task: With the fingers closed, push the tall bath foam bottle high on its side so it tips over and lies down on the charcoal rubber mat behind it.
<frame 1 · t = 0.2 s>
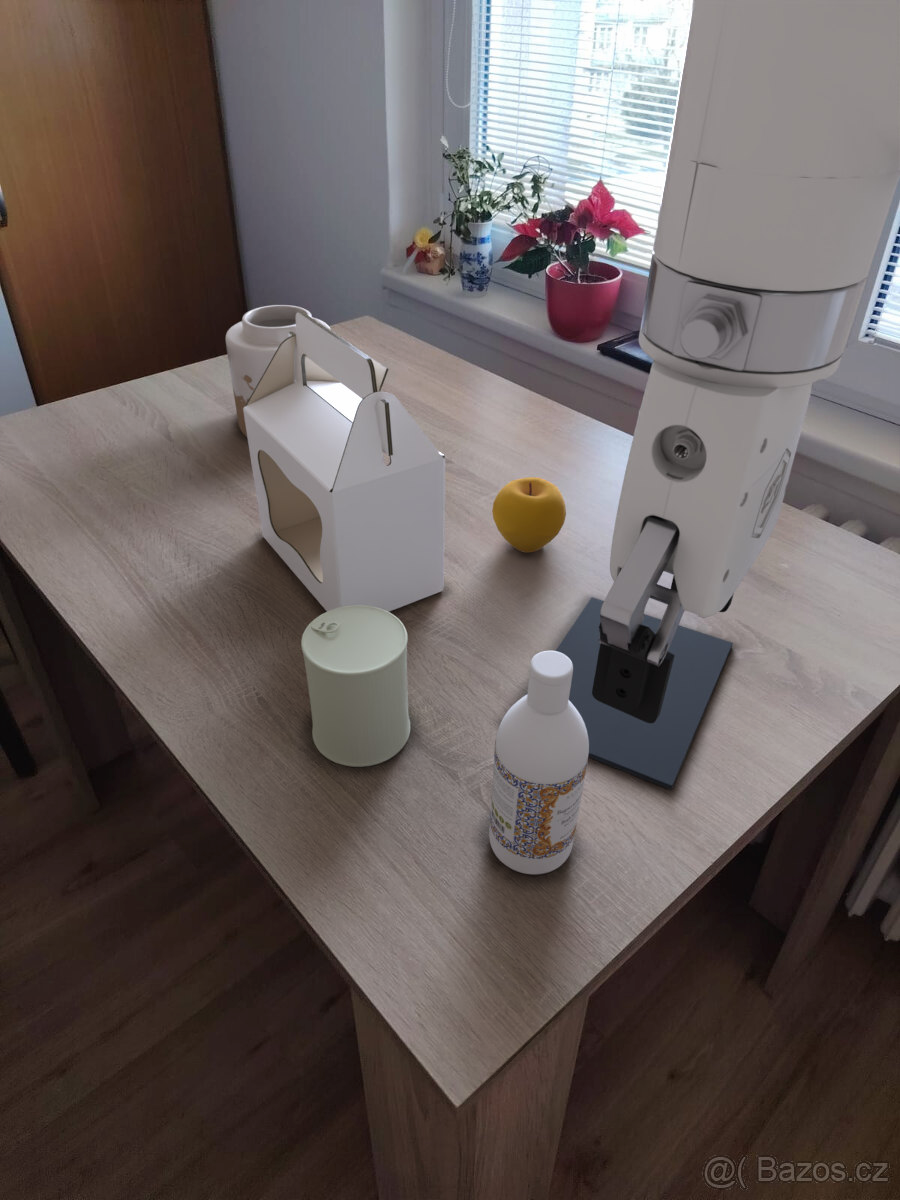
hand: (664, 650, 42), 30 cm above the table, tool pointing down, fingers open, 9 cm apart
apple: (526, 546, 103), on the table
vase: (289, 424, 128), on the table
gable box: (349, 564, 99), on the table
mat: (626, 683, 83), on the table
can: (361, 731, 78), on the table
bath foam: (530, 842, 69), on the table
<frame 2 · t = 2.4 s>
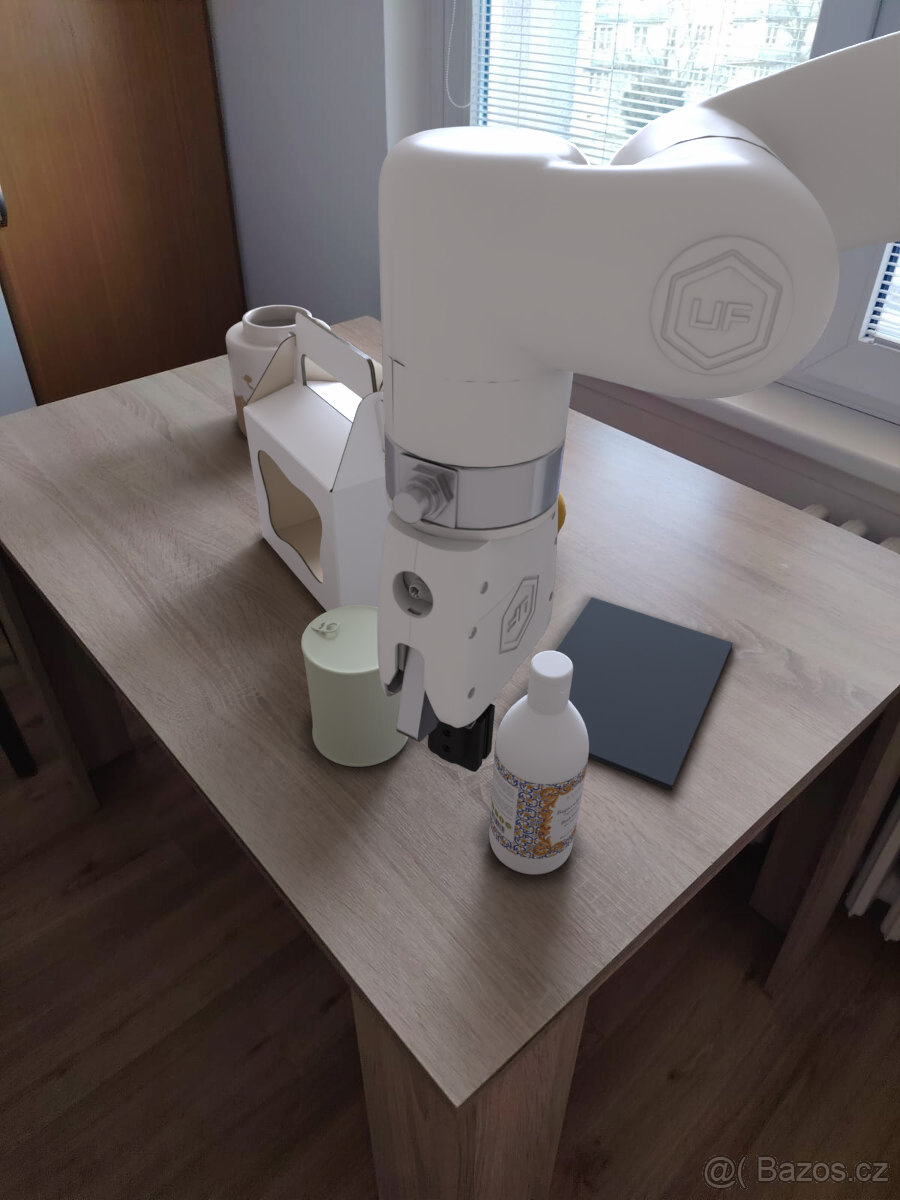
hand: (459, 752, 46), 23 cm above the table, tool pointing down, fingers closed
nothing on the table moved.
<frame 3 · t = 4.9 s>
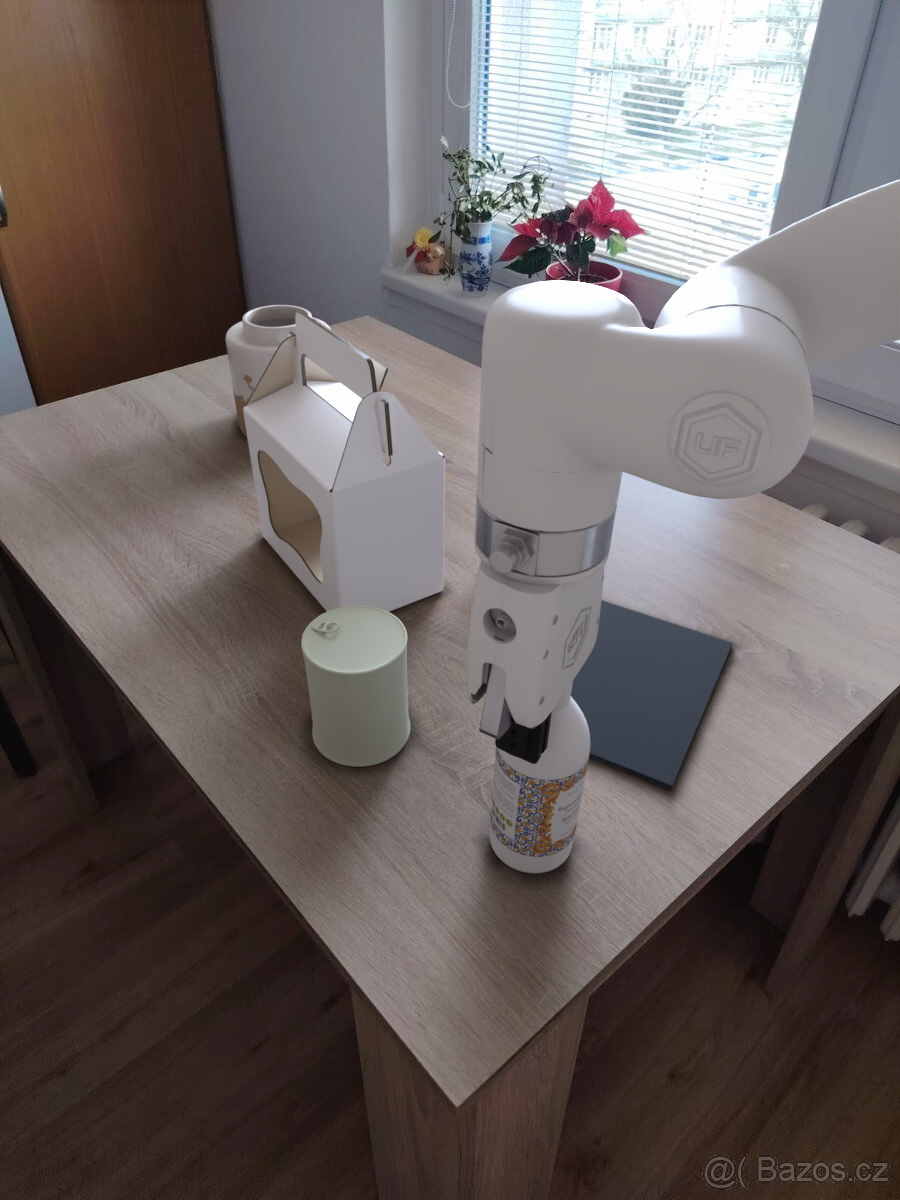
hand: (520, 748, 57), 15 cm above the table, tool pointing down, fingers closed
bath foam: (530, 841, 69), on the table, touching gripper
everything else where it was.
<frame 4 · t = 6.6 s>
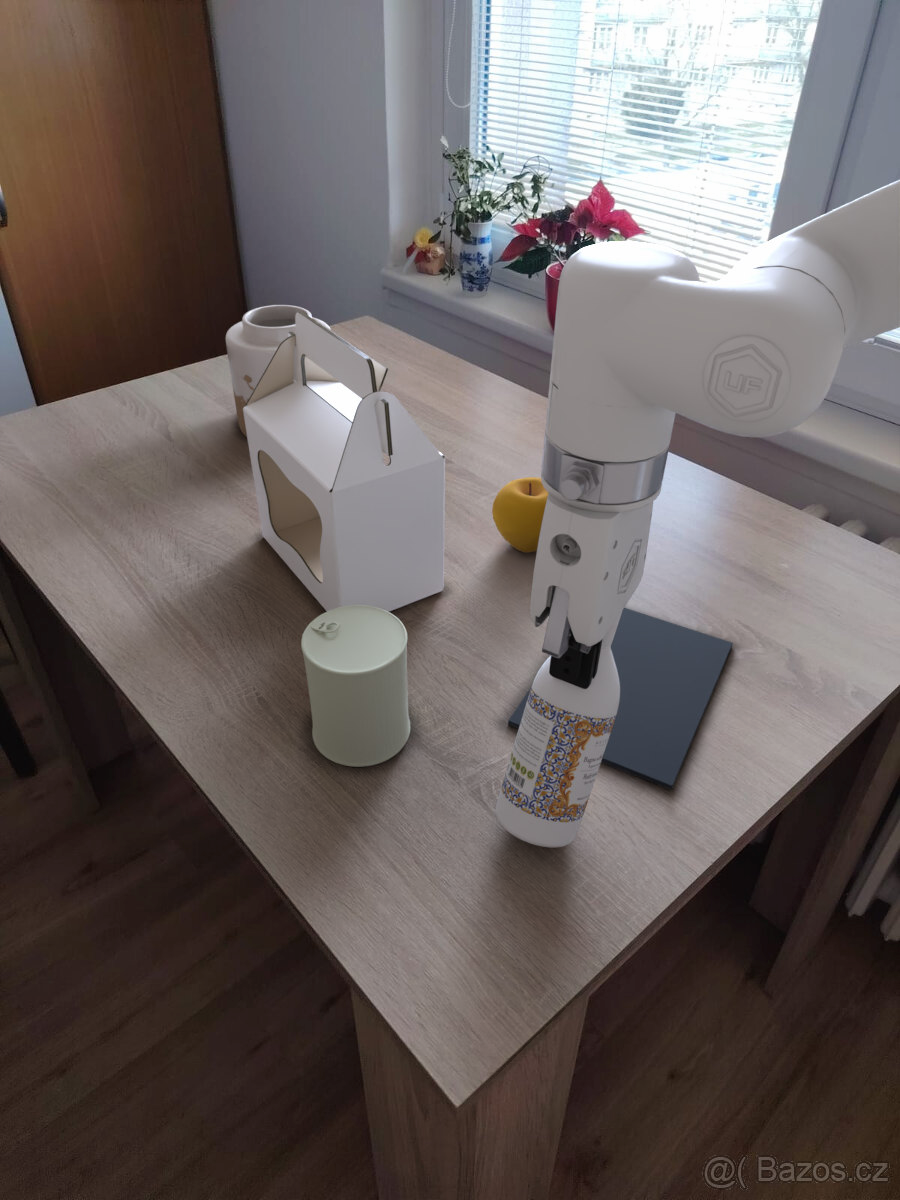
hand: (572, 676, 62), 15 cm above the table, tool pointing down, fingers closed
bath foam: (533, 828, 68), point 1 cm above the table
everything else where it was.
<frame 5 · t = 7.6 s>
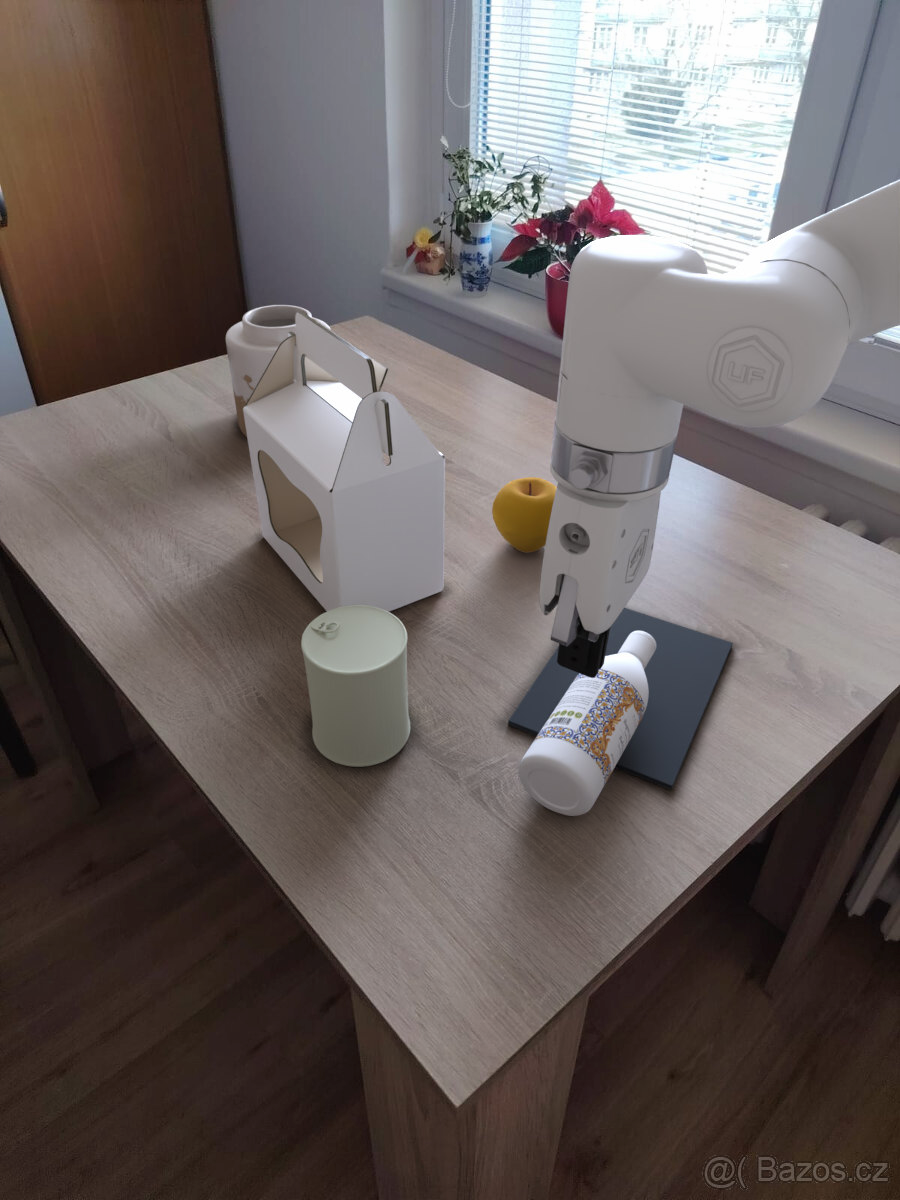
hand: (579, 665, 63), 15 cm above the table, tool pointing down, fingers closed
bath foam: (551, 791, 68), point 3 cm above the table, touching mat
everything else where it was.
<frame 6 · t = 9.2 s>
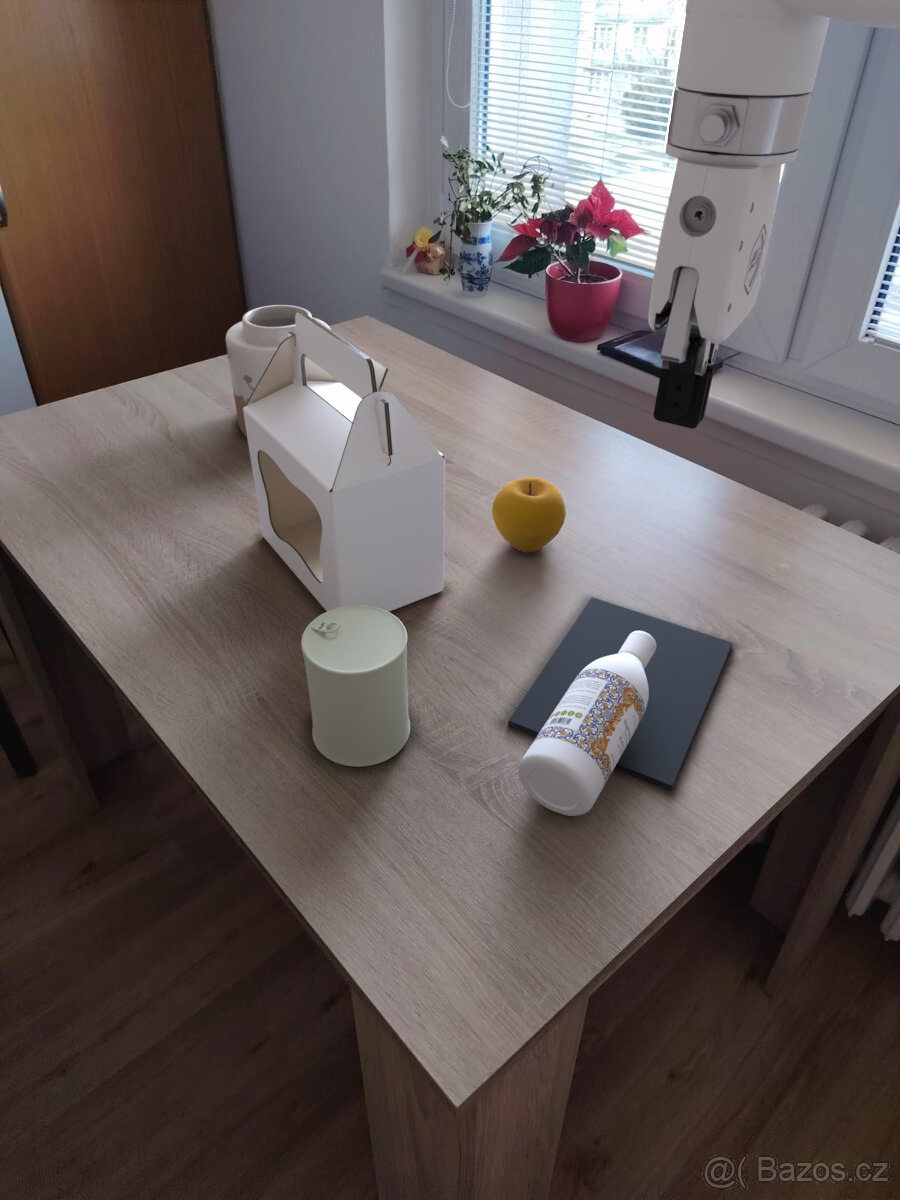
hand: (677, 419, 59), 32 cm above the table, tool pointing down, fingers closed
nothing on the table moved.
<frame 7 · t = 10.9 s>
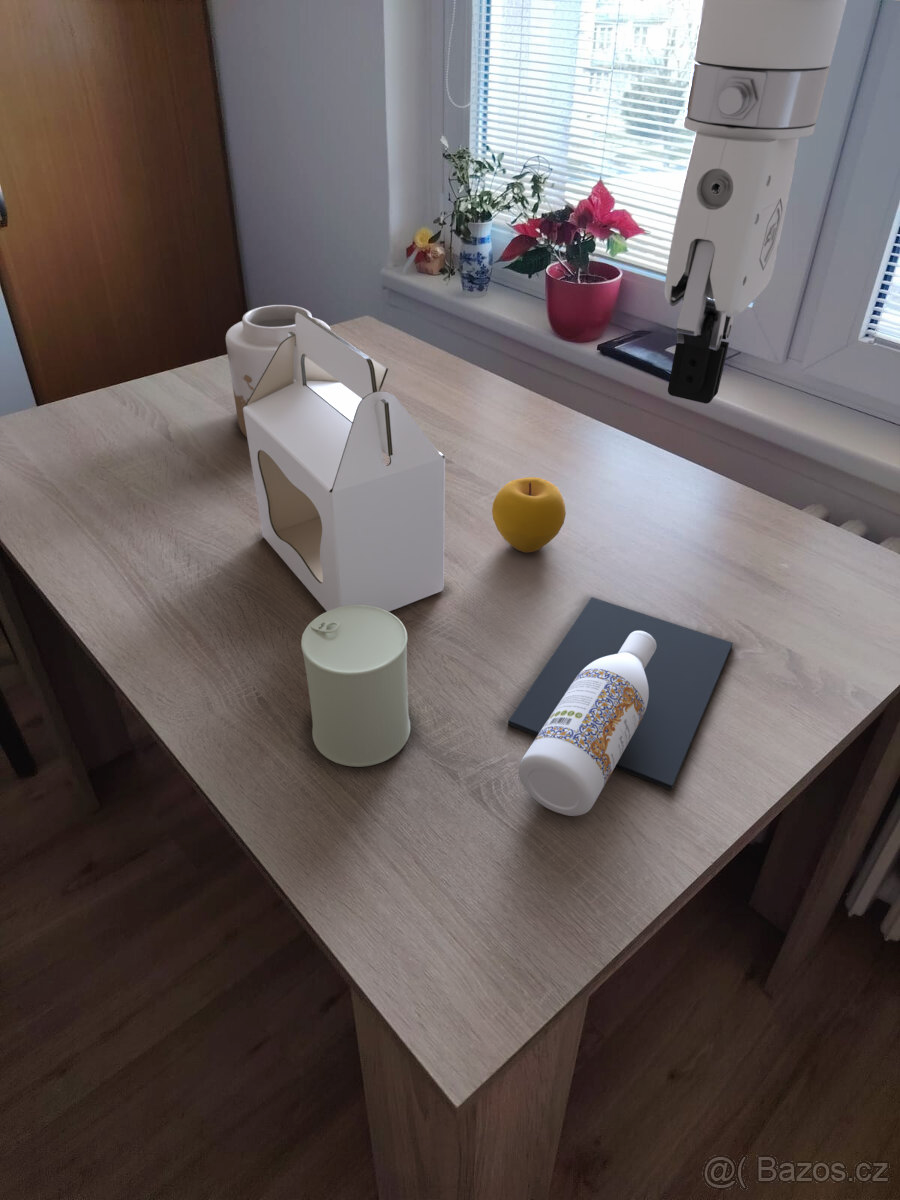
hand: (691, 395, 60), 33 cm above the table, tool pointing down, fingers closed
nothing on the table moved.
at the end: bath foam tilted 85°; bath foam touching mat, table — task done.
